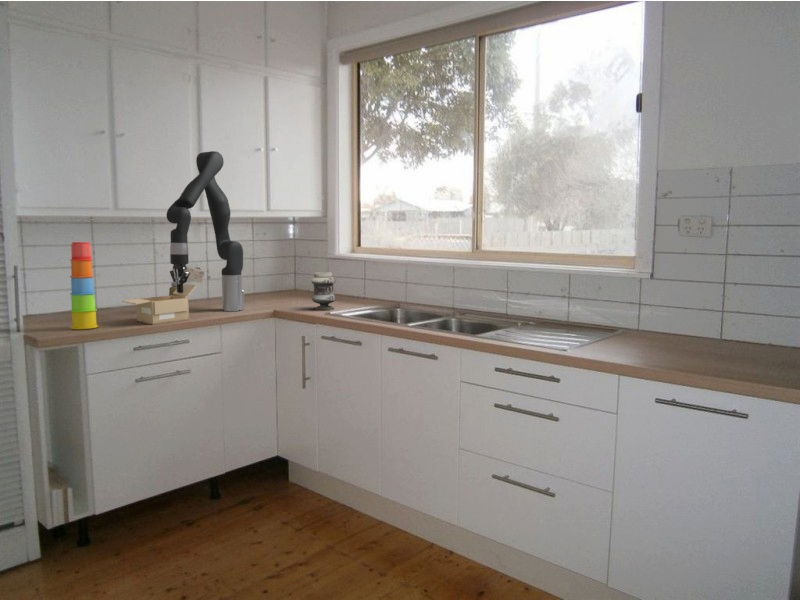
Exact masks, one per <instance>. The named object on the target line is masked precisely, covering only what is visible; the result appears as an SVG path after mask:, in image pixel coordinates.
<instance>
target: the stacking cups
mask: <svg viewBox="0 0 800 600" xmlns="http://www.w3.org/2000/svg"><path fill="white" fill-rule="evenodd" d="M70 245H71V246H70V247H71V248H70V249H71V259H69V261H70V263H71V264H70V266H71V267H70V270H71V273H70V274H71V275H70V276H69V278H70V282H71V283H70V286H71V292H70V300H71V309H70V310H69V312H70V313H71V326H70V329H71V330H90V329H97V328H99V325H98V324H97V323H98V322H97V311H98V309H97V308H96V300H95V294H96V292H95V290H94V289H95V288H94V277H95V275H93V262H92V261H93V259H92V246H91V243H90V242H87V241H86V242H81V241H79V242H78V241H77V242H76V241H74V242H73V241H72V242H71V244H70Z"/></svg>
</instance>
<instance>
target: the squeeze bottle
mask: <svg viewBox="0 0 800 600" xmlns="http://www.w3.org/2000/svg"><path fill="white" fill-rule="evenodd" d="M170 285H171V286H170V287H169V289H168V290H169V293H168V296H170V295H173V296H179V297H186V296H182V295H176V294H173V293H174V291H175V290H176V289H177V284H176V283H175V282H171V283H170Z"/></svg>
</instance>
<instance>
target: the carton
mask: <svg viewBox="0 0 800 600" xmlns="http://www.w3.org/2000/svg"><path fill="white" fill-rule="evenodd" d="M139 299H143V300H149V301H150V302H147V303H142V304H135V306H136V307H135V308H136V309H135V310H136V321H139V322H138V323H142V322H143V324H147V323H148V324H147V325H151V324H152V326H155V325H163V324H171V323H178V322H186V321H185V320H187V321H190V309H189V297H187V296H185V297H179V296H173V295H170V296H169V295H164V296H163V295H162V296H151V297H142V298H140V297H139Z"/></svg>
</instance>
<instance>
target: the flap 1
mask: <svg viewBox="0 0 800 600" xmlns="http://www.w3.org/2000/svg"><path fill="white" fill-rule="evenodd" d="M147 302H150V301H149V300H143V299H140V298H130V299H124V300H122V302H121V303H124V304H125V303H126V304H131V305H136V304H142V303H147Z"/></svg>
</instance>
